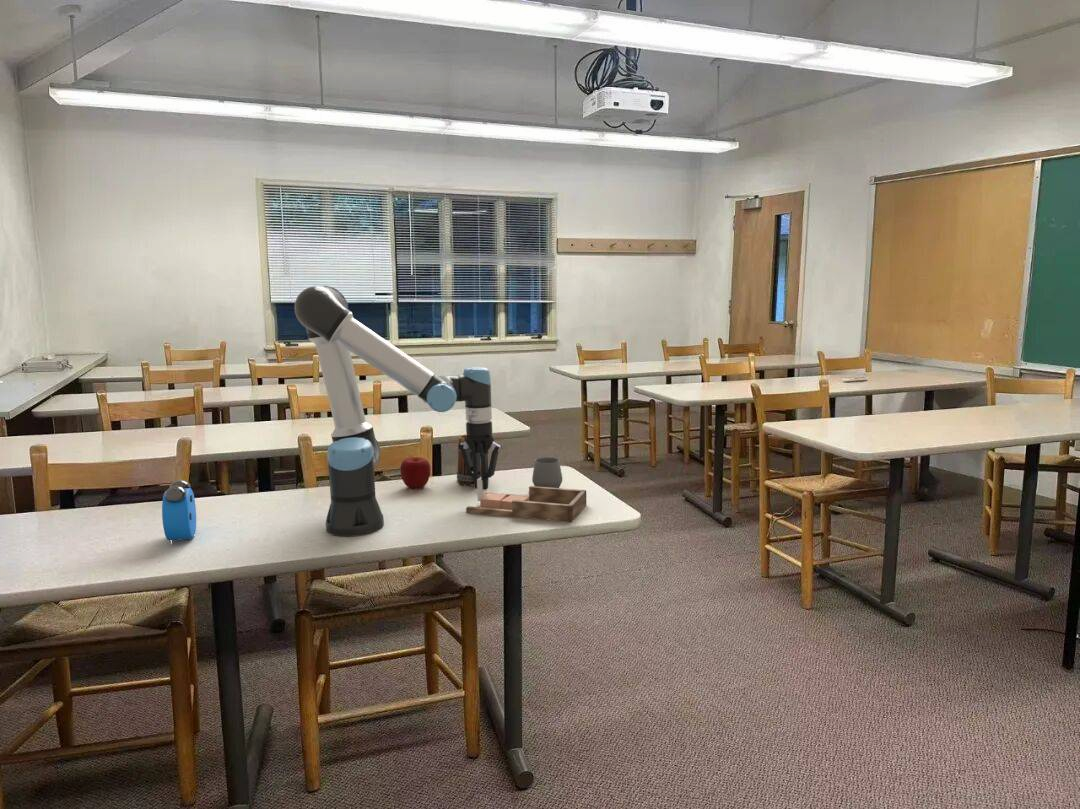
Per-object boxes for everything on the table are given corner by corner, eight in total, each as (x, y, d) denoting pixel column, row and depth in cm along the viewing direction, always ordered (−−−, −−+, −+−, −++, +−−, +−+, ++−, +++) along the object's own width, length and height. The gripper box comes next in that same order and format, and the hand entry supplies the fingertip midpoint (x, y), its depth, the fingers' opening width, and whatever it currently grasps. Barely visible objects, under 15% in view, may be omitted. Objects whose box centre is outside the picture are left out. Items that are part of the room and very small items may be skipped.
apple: (418, 493, 222) (416, 462, 220) (394, 489, 227) (393, 459, 225) (437, 485, 230) (435, 455, 228) (414, 482, 235) (412, 452, 233)
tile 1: (480, 509, 206) (480, 499, 205) (487, 502, 212) (487, 493, 211) (500, 510, 204) (499, 500, 204) (506, 504, 210) (506, 494, 209)
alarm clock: (174, 532, 191) (168, 478, 188) (199, 529, 193) (193, 475, 190) (165, 549, 179) (158, 491, 176) (192, 545, 181) (186, 488, 178)
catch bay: (466, 512, 203) (465, 497, 202) (487, 496, 217) (486, 482, 216) (571, 522, 193) (571, 506, 192) (586, 505, 207) (586, 490, 206)
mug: (454, 478, 238) (452, 434, 236) (485, 475, 241) (483, 432, 239) (463, 491, 224) (461, 444, 221) (496, 487, 227) (494, 441, 224)
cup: (529, 495, 218) (529, 463, 216) (535, 486, 227) (534, 456, 225) (560, 496, 216) (559, 464, 214) (564, 487, 225) (564, 456, 223)
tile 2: (501, 510, 205) (500, 500, 204) (511, 504, 210) (510, 494, 209) (519, 513, 202) (519, 503, 202) (529, 507, 207) (529, 497, 207)
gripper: (452, 422, 204) (456, 501, 208) (495, 424, 200) (497, 505, 204) (463, 417, 211) (466, 494, 215) (504, 419, 207) (507, 497, 211)
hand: (481, 499), depth 209 cm, fingers closed
